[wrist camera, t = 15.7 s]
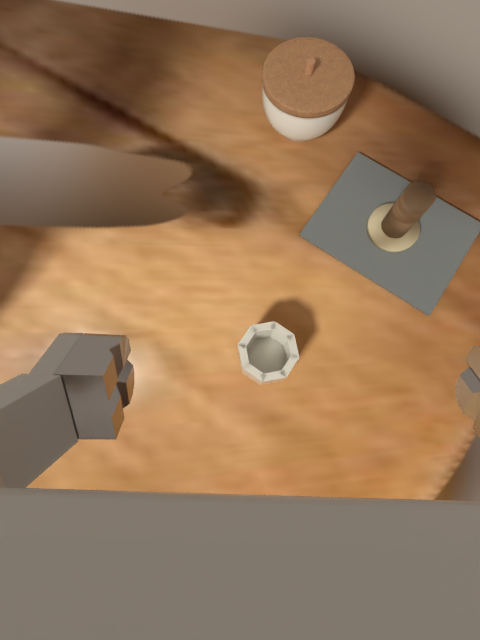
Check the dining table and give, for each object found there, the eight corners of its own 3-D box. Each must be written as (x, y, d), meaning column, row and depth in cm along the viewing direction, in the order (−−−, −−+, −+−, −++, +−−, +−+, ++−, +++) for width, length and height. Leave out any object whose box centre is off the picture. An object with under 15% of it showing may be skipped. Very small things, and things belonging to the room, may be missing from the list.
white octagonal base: (229, 364, 45) (228, 358, 41) (258, 322, 46) (260, 311, 42) (273, 394, 44) (276, 391, 40) (301, 350, 45) (308, 343, 41)
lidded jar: (247, 101, 54) (249, 36, 45) (320, 80, 55) (337, 12, 46) (275, 166, 51) (283, 112, 42) (351, 143, 52) (375, 85, 43)
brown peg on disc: (357, 235, 48) (379, 201, 41) (382, 197, 50) (408, 158, 42) (401, 262, 47) (432, 232, 40) (426, 223, 49) (460, 187, 41)
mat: (299, 235, 49) (299, 233, 48) (356, 155, 52) (357, 152, 51) (428, 315, 46) (430, 314, 46) (480, 226, 49) (483, 224, 49)
